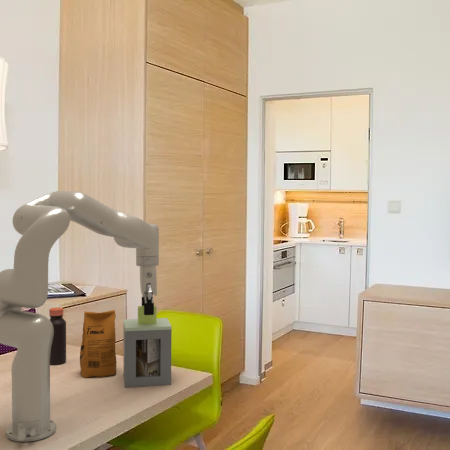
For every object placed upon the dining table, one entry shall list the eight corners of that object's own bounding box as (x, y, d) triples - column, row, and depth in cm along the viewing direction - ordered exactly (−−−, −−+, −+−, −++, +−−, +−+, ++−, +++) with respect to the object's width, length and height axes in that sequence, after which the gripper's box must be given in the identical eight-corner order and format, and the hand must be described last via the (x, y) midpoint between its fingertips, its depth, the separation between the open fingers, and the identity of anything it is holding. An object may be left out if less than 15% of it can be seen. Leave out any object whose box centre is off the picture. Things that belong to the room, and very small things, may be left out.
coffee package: (80, 369, 199) (79, 308, 198) (115, 367, 202) (115, 307, 201) (79, 379, 189) (79, 314, 188) (117, 376, 192) (117, 313, 191)
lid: (171, 332, 184) (171, 309, 184) (125, 334, 181) (125, 311, 180) (167, 323, 196) (167, 302, 195) (123, 325, 192) (123, 303, 192)
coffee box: (162, 380, 188) (163, 333, 187) (147, 385, 184) (147, 337, 183) (146, 374, 195) (146, 328, 194) (130, 378, 190) (131, 331, 189)
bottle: (47, 360, 209) (46, 307, 208) (65, 359, 211) (65, 306, 210) (46, 365, 203) (46, 311, 202) (66, 364, 205) (66, 310, 204)
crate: (171, 384, 185) (171, 329, 184) (124, 387, 182) (125, 331, 181) (166, 372, 197) (167, 320, 196) (123, 375, 194) (123, 322, 192)
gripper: (161, 264, 179) (161, 317, 181) (156, 257, 196) (156, 305, 197) (137, 264, 178) (138, 318, 179) (134, 257, 195) (134, 306, 196)
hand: (147, 311), depth 188 cm, fingers open, 9 cm apart
